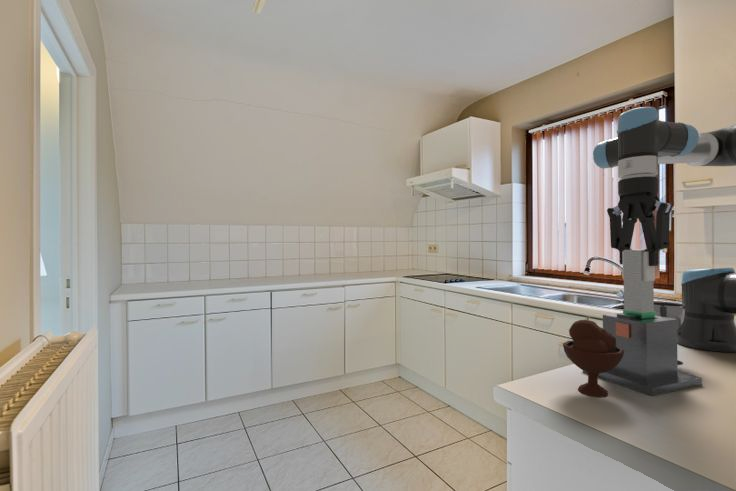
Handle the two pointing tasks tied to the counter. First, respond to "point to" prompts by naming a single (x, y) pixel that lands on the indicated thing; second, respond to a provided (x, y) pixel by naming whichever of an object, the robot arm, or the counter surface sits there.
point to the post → (637, 287)
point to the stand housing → (647, 354)
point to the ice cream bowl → (592, 353)
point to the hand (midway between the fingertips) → (638, 279)
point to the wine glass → (671, 313)
